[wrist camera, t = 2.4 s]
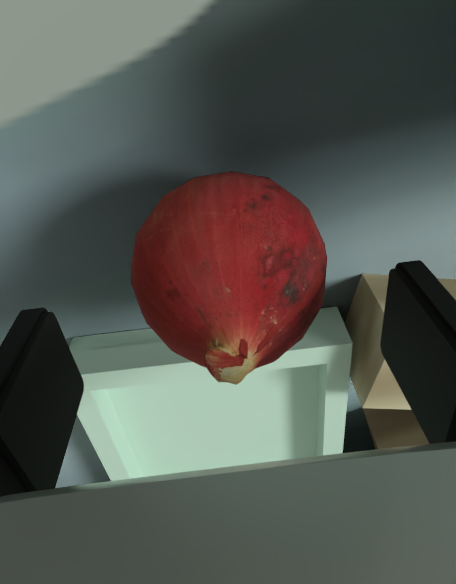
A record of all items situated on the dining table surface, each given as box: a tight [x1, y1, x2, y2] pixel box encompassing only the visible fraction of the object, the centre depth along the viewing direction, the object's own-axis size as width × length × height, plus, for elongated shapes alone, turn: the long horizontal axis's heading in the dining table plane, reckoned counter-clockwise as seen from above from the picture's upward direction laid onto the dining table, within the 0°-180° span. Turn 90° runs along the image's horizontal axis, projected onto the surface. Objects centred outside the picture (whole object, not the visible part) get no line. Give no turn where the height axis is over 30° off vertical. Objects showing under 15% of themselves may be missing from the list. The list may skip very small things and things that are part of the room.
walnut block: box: [363, 408, 430, 450], centre depth 22 cm, size 4×4×4 cm
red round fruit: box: [131, 171, 327, 385], centre depth 13 cm, size 6×6×8 cm
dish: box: [69, 307, 353, 481], centre depth 21 cm, size 12×12×2 cm
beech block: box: [344, 274, 456, 410], centre depth 18 cm, size 4×6×4 cm, turn 84°
